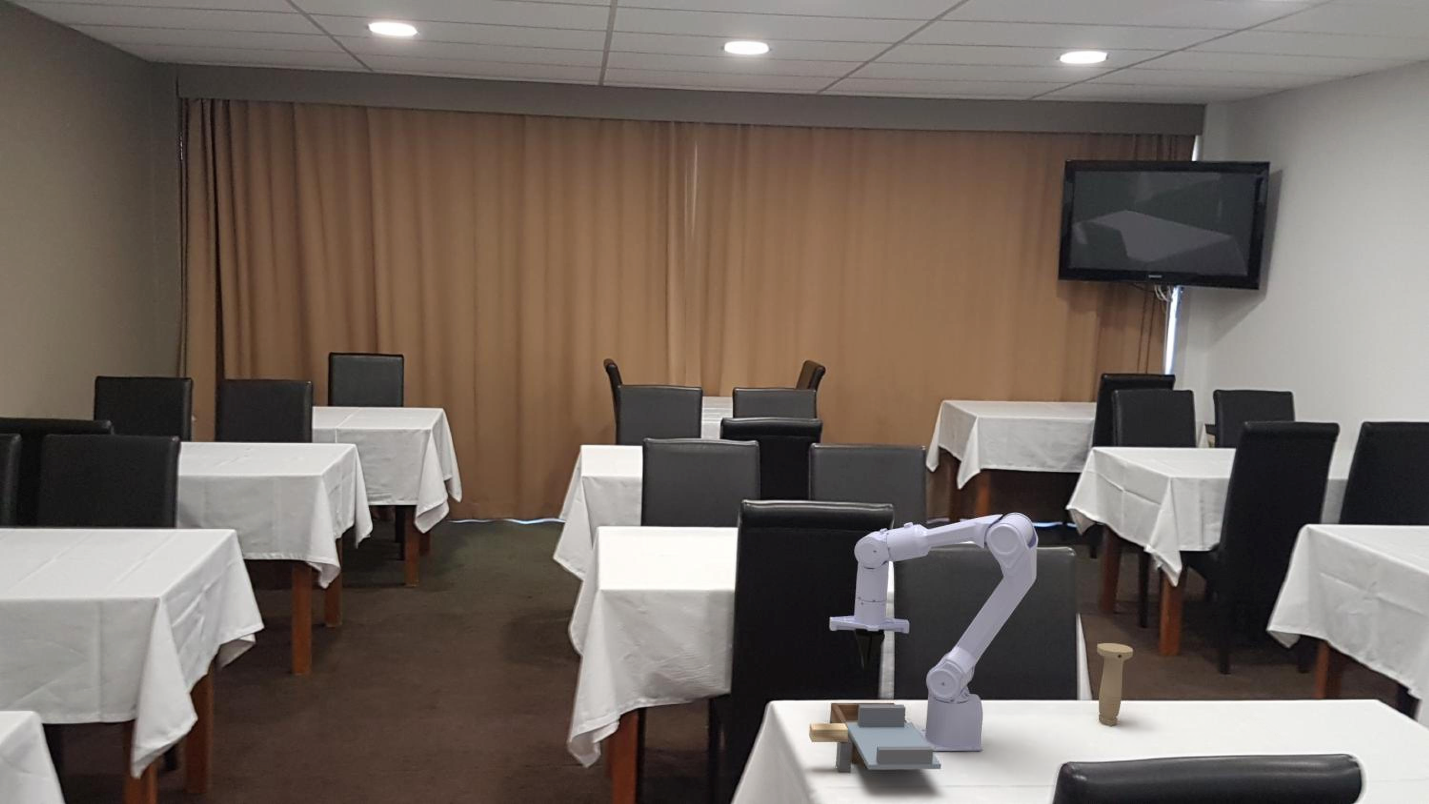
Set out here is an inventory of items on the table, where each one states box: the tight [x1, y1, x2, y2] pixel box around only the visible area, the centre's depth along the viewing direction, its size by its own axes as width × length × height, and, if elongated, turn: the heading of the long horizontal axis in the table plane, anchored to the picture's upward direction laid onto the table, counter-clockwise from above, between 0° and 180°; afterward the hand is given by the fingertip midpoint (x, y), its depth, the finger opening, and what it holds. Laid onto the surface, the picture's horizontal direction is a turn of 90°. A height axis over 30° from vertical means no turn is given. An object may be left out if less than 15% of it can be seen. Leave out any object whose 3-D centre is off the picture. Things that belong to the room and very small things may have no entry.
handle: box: [1096, 642, 1134, 727], centre depth 206 cm, size 5×6×15 cm
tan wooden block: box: [808, 722, 848, 743], centre depth 181 cm, size 6×2×2 cm, turn 97°
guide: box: [835, 737, 853, 774], centre depth 182 cm, size 2×2×5 cm
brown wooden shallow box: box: [829, 702, 908, 764], centre depth 193 cm, size 12×16×4 cm
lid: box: [845, 704, 942, 770], centre depth 182 cm, size 12×16×4 cm
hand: (866, 667), depth 201 cm, fingers closed
